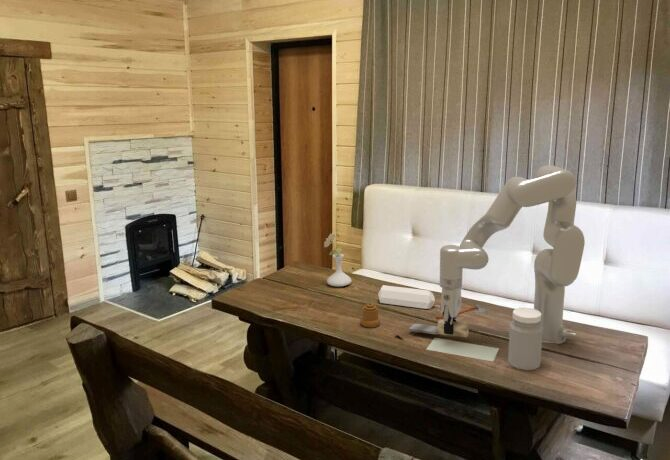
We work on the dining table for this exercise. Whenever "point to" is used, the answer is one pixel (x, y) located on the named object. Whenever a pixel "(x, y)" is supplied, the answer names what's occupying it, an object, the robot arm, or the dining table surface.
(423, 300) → the crystal
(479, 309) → the axe
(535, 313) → the jar
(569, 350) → the dining table surface
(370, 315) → the ornamental finial
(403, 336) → the wood plank
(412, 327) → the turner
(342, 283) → the flower in vase
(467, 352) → the board
